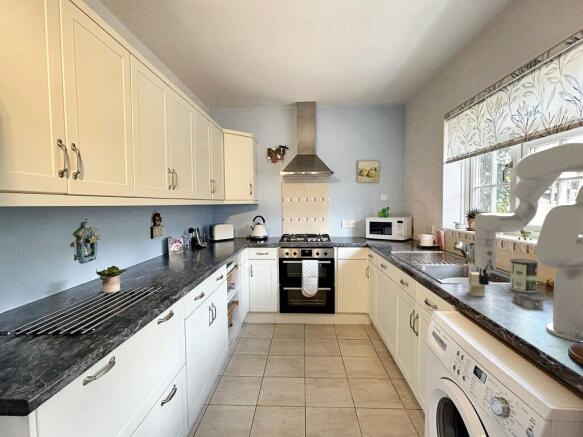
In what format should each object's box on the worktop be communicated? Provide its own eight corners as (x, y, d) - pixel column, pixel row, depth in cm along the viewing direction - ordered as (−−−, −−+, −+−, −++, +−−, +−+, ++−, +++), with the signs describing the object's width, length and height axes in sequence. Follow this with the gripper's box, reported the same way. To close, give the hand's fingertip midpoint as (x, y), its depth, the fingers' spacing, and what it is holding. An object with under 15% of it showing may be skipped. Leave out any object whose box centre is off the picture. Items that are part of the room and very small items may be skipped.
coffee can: (534, 288, 140) (535, 259, 140) (539, 294, 132) (540, 263, 131) (508, 285, 146) (509, 257, 145) (510, 290, 137) (511, 261, 136)
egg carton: (546, 310, 113) (546, 300, 113) (524, 309, 114) (525, 299, 114) (528, 301, 123) (529, 291, 123) (509, 300, 125) (509, 291, 125)
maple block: (484, 296, 129) (485, 274, 128) (472, 295, 130) (472, 274, 130) (480, 293, 134) (480, 272, 133) (468, 292, 135) (468, 271, 135)
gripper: (503, 245, 115) (501, 290, 116) (487, 240, 129) (486, 280, 130) (482, 244, 116) (480, 289, 117) (468, 239, 131) (467, 279, 132)
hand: (483, 284), depth 124 cm, fingers closed
